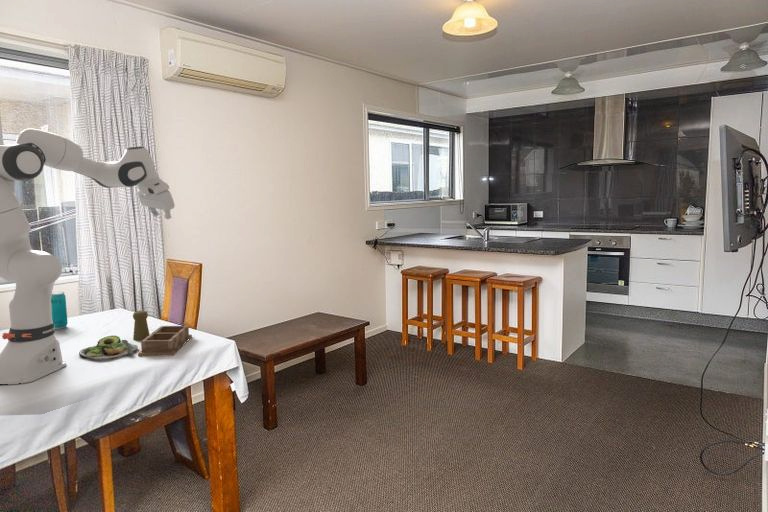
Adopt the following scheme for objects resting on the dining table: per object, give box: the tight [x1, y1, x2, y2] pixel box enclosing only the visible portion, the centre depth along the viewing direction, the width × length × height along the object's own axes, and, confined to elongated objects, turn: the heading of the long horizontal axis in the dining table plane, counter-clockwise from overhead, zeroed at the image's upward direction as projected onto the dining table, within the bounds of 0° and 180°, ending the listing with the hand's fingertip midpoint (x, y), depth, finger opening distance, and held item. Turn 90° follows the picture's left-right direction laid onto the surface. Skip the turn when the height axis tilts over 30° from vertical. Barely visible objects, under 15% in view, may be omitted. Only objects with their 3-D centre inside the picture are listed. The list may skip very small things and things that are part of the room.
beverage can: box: [51, 291, 69, 330], centre depth 208 cm, size 6×6×15 cm
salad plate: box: [78, 335, 138, 361], centre depth 178 cm, size 19×18×5 cm
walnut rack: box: [137, 325, 193, 357], centre depth 186 cm, size 22×12×5 cm, turn 4°
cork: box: [132, 310, 151, 342], centre depth 194 cm, size 6×6×11 cm
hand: (162, 217), depth 205 cm, fingers open, 8 cm apart
